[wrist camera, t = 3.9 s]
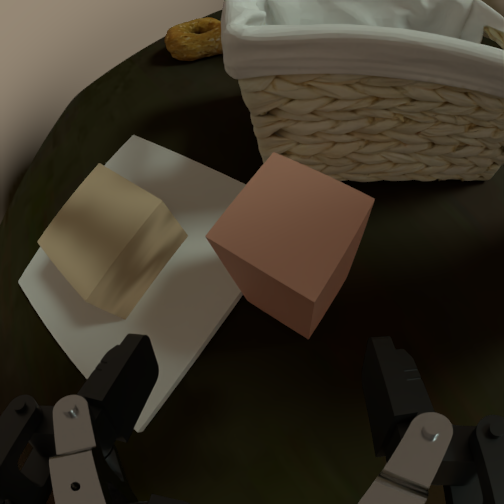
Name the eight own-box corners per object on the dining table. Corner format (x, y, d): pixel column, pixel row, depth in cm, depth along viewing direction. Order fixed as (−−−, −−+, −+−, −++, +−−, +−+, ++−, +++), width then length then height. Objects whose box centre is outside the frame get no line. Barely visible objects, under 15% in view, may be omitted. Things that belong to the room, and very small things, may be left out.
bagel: (204, 69, 34) (194, 40, 30) (157, 59, 39) (147, 36, 34) (252, 39, 37) (247, 12, 32) (202, 31, 41) (195, 9, 37)
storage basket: (446, 88, 28) (470, -12, 14) (505, 197, 21) (577, 84, 8) (254, 87, 31) (228, -30, 18) (256, 206, 24) (207, 37, 11)
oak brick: (127, 196, 26) (99, 163, 21) (188, 235, 23) (162, 200, 19) (73, 265, 24) (37, 242, 19) (125, 319, 21) (85, 301, 17)
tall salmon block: (286, 244, 23) (273, 151, 13) (346, 278, 21) (375, 199, 12) (247, 300, 21) (205, 236, 12) (308, 339, 20) (314, 302, 10)
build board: (136, 139, 30) (133, 134, 30) (298, 215, 23) (298, 210, 23) (23, 284, 25) (18, 281, 25) (142, 431, 18) (137, 432, 18)
